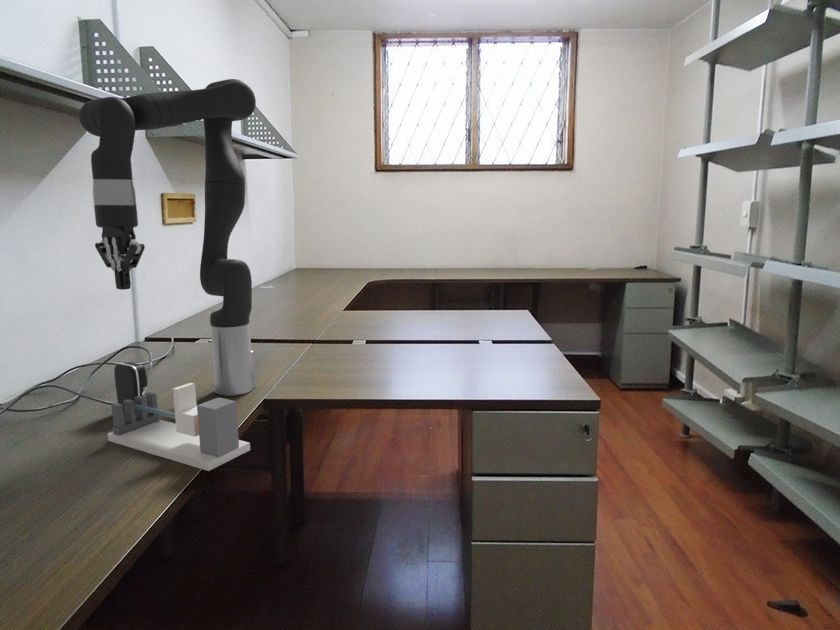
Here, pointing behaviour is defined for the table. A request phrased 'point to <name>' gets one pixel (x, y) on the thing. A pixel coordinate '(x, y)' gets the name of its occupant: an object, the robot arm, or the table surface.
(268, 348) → the table surface
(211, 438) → the cable jig
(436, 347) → the table surface
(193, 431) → the sleeve
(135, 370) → the battery charger
